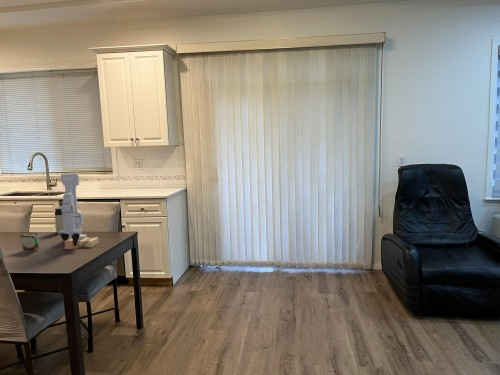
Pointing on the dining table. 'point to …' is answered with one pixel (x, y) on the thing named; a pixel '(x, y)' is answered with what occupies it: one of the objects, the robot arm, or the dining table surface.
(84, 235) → the off-white cube
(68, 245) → the terracotta cube
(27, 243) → the food container
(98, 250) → the dining table surface
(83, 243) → the maple block
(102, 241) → the dining table surface
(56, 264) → the dining table surface
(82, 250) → the dining table surface
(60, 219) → the travel mug
